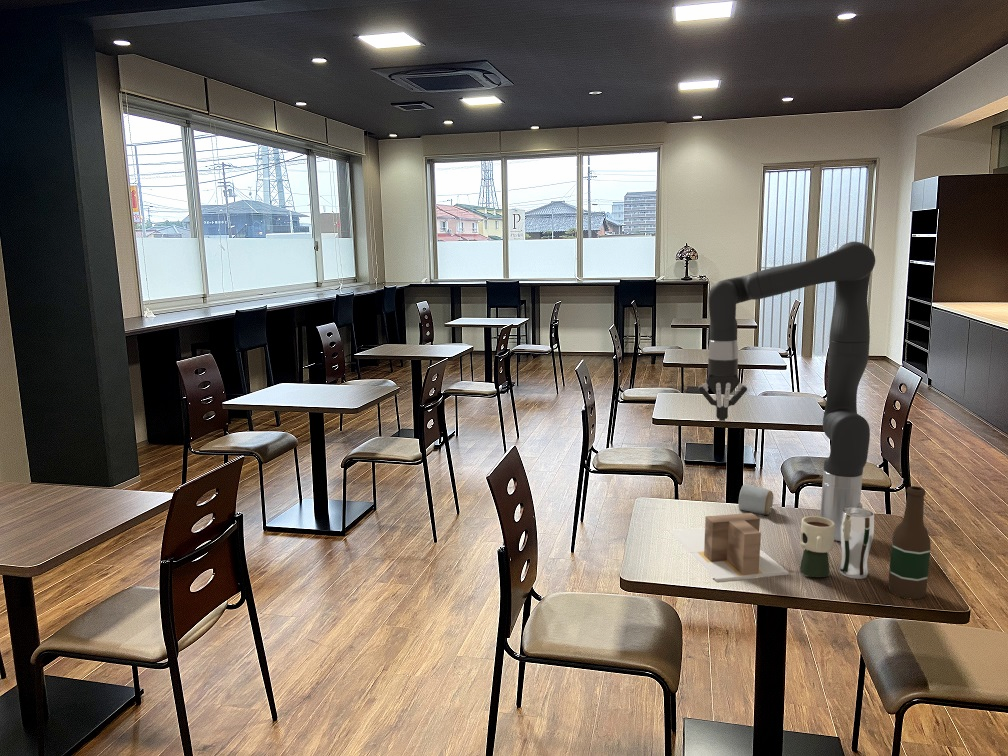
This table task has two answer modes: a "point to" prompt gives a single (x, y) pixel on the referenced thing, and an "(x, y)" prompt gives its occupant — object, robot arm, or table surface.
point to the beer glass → (856, 541)
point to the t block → (734, 541)
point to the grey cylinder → (755, 499)
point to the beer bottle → (910, 550)
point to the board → (722, 569)
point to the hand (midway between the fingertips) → (722, 420)
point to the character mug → (816, 545)
